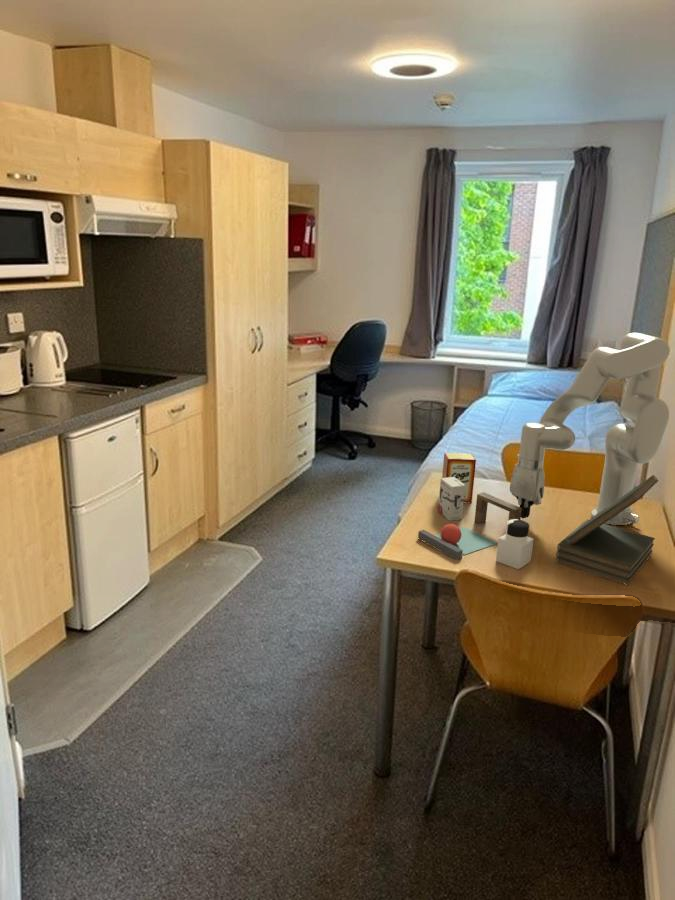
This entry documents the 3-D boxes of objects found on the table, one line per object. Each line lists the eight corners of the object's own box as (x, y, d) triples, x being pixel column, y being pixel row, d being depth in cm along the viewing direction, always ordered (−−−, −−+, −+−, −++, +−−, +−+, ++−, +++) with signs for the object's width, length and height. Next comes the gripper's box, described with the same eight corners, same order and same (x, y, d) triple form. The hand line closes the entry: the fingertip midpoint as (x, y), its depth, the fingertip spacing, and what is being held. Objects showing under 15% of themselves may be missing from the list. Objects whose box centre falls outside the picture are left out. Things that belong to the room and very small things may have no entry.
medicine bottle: (531, 561, 181) (536, 522, 177) (518, 570, 176) (523, 529, 172) (508, 553, 186) (512, 514, 182) (495, 561, 181) (499, 521, 177)
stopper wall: (461, 558, 182) (462, 550, 181) (456, 560, 181) (457, 551, 180) (423, 537, 194) (423, 529, 193) (418, 538, 193) (418, 531, 192)
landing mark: (497, 543, 191) (497, 543, 191) (464, 555, 184) (464, 554, 183) (463, 526, 202) (463, 526, 202) (430, 537, 194) (430, 536, 194)
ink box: (436, 510, 214) (439, 477, 210) (450, 509, 215) (453, 476, 212) (448, 521, 206) (452, 486, 203) (462, 519, 208) (466, 485, 204)
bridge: (480, 520, 207) (483, 492, 204) (518, 537, 196) (521, 508, 193) (474, 522, 206) (477, 494, 203) (511, 540, 194) (515, 510, 191)
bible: (583, 537, 198) (595, 460, 191) (651, 557, 187) (667, 476, 179) (554, 563, 181) (566, 479, 174) (627, 587, 170) (644, 498, 162)
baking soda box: (467, 495, 228) (471, 452, 223) (471, 503, 222) (476, 458, 217) (440, 495, 227) (444, 452, 223) (444, 502, 221) (448, 457, 216)
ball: (454, 551, 188) (467, 538, 190) (448, 537, 185) (462, 524, 187) (439, 544, 192) (453, 531, 194) (433, 530, 189) (447, 517, 191)
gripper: (503, 458, 206) (497, 511, 211) (542, 471, 194) (535, 527, 200) (519, 454, 210) (513, 506, 215) (558, 467, 198) (550, 522, 204)
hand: (523, 516), depth 207 cm, fingers closed
